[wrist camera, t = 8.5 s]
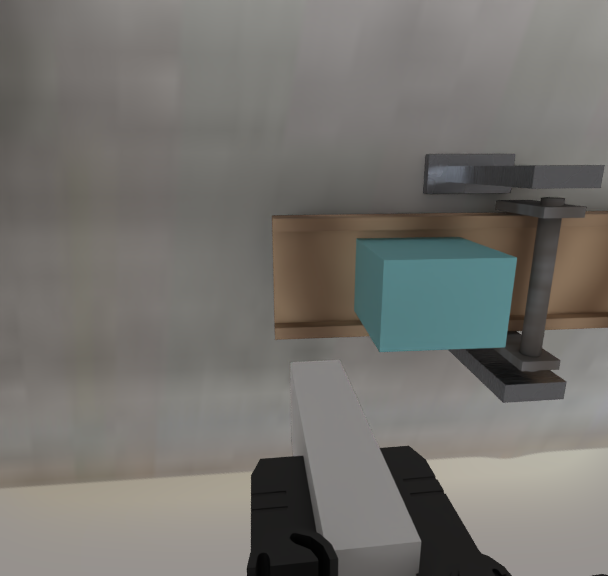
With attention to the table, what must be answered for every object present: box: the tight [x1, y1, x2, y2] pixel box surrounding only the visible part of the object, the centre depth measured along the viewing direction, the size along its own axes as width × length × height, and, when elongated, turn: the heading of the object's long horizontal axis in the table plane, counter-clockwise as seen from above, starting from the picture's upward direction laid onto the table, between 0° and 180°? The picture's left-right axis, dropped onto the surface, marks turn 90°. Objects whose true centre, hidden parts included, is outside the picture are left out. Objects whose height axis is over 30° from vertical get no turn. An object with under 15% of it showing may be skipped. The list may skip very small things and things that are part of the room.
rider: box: [354, 237, 517, 352], centre depth 26 cm, size 7×5×7 cm
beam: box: [272, 197, 608, 372], centre depth 30 cm, size 32×11×11 cm, turn 90°
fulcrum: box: [423, 154, 605, 403], centre depth 31 cm, size 7×16×12 cm, turn 0°
